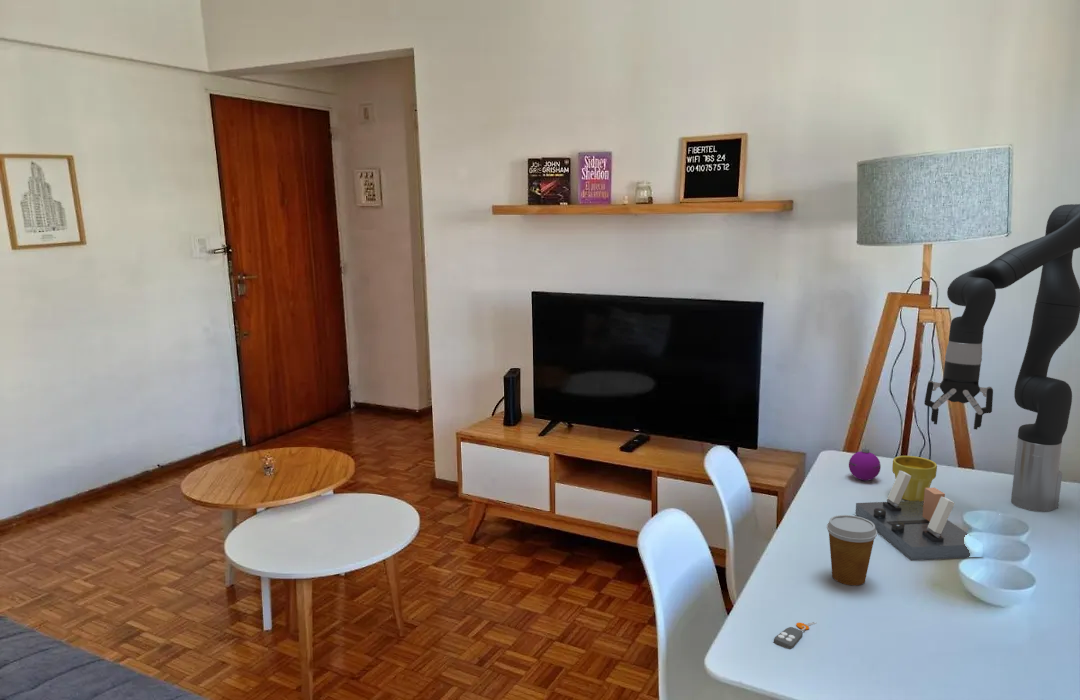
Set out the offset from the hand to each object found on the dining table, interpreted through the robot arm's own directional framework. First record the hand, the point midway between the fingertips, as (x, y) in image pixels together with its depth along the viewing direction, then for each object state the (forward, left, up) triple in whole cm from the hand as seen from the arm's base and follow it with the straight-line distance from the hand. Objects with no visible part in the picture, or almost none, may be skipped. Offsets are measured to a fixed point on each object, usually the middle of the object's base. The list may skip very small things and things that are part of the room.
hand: (955, 426), depth 180 cm
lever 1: (+16, +3, -18) cm, 24 cm away
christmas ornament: (+9, -25, -23) cm, 35 cm away
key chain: (+58, +48, -23) cm, 79 cm away
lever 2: (+16, +20, -18) cm, 31 cm away
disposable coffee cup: (+40, +30, -23) cm, 55 cm away
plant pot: (+3, -11, -23) cm, 25 cm away
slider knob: (+11, +11, -19) cm, 24 cm away
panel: (+15, +11, -22) cm, 29 cm away
